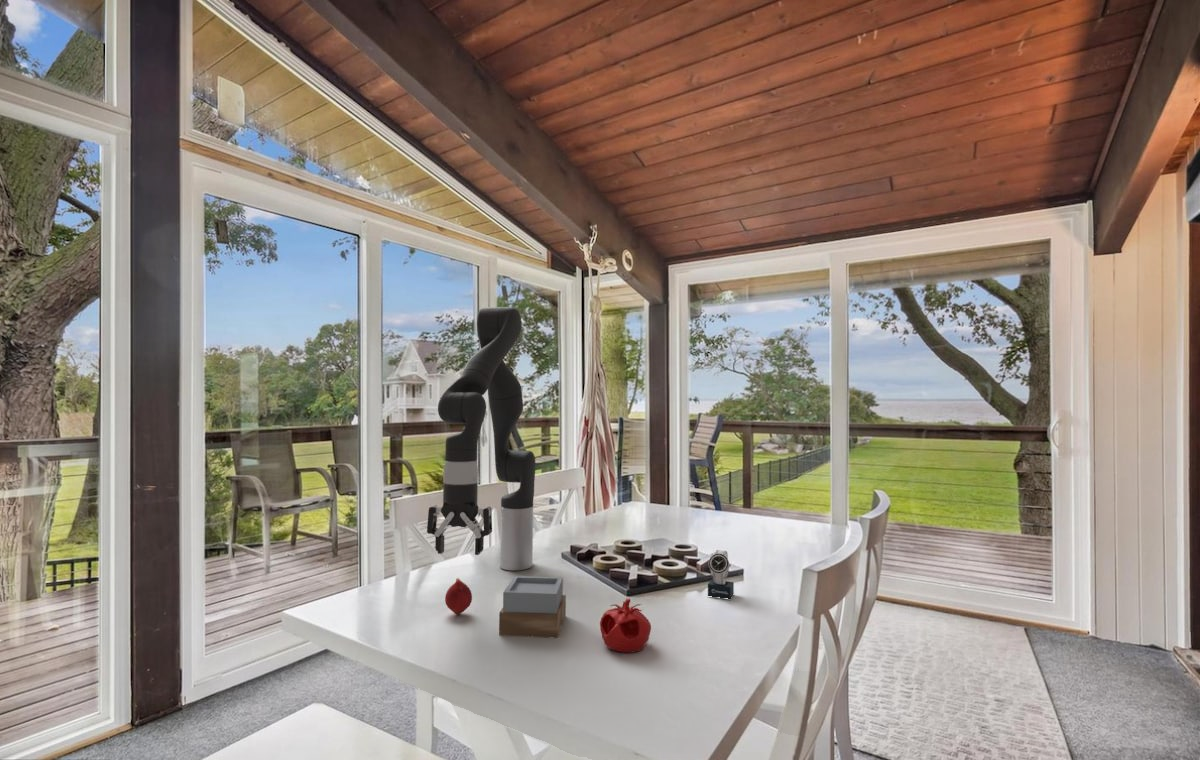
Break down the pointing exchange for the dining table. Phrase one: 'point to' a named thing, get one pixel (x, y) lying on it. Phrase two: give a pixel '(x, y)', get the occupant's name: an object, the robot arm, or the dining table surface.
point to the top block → (533, 594)
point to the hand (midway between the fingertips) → (459, 553)
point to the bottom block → (532, 622)
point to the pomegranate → (625, 628)
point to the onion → (458, 597)
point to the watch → (720, 576)
